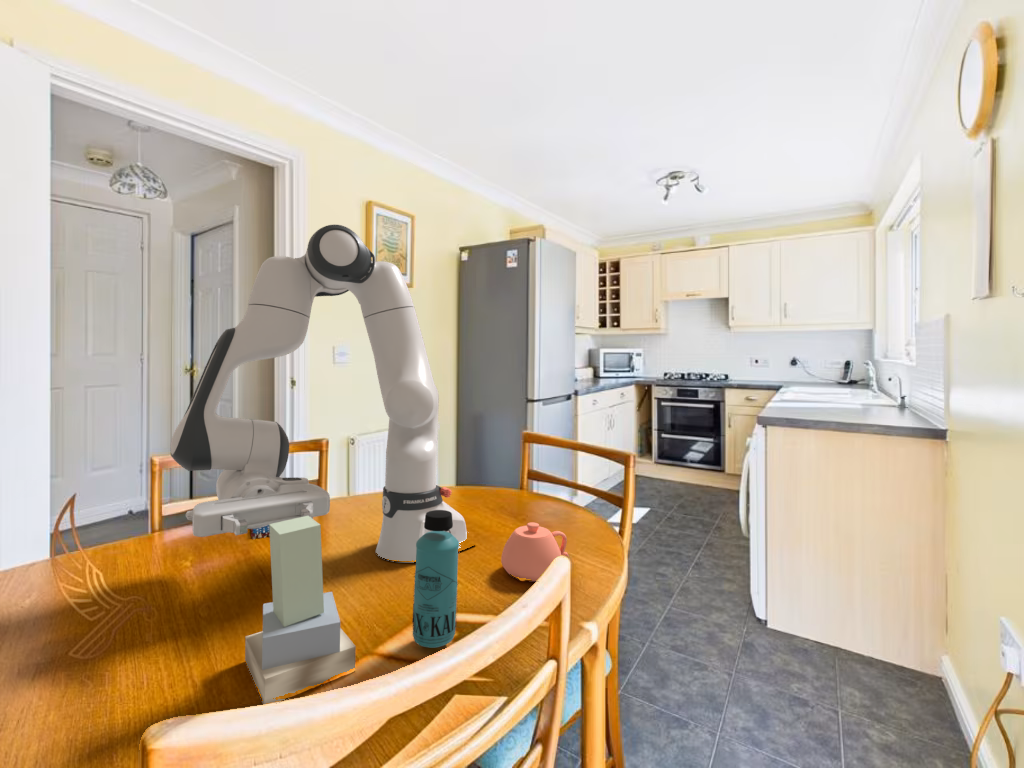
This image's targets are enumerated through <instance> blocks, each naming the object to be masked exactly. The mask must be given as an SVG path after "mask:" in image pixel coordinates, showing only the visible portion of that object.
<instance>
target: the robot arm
mask: <svg viewBox="0 0 1024 768" xmlns="http://www.w3.org/2000/svg"><path fill="white" fill-rule="evenodd" d="M362 240H363V239H361V238H360V236H359V235H358V234H356V232H355V231H354V230H352V229H351V228H349V227H347V226H344V225H341V224H328V225H324V226H322V227H321V228H318V229H317V230H316V231H315V232H314V233H313V234H312V235H311V236H310V239H309V241H308V243H307V247H306V250H305V254H304V255H302V256H301V257H290V256H286V255H285V256H284V255H276V256H270V257H267V259H265V260H264V261H263V262H262V264H261V266H260V267H259V270H258V272H257V275H256V277H255V279H254V282H253V285H252V288H251V292H250V294H249V300H248V303H247V308H246V312H245V314H244V316H243V318H242V319H241V321H240V322H239V323H237V325H236V326H235V327H231V328H227V329H225V331H223V332H222V334H221V335H220V336H219V338H218V339H217V342H216V343H215V345H214V346H213V349H212V352H211V353H210V355H209V358H208V360H207V363H206V365H205V367H204V370H203V371H202V373H201V376H200V378H199V380H198V382H197V383H198V384H197V385H196V388H195V390H194V393H193V395H192V397H191V400H190V402H189V405H188V407H187V409H186V410H185V412H184V415H183V417H182V419H181V421H179V424H178V425H177V426H176V428H175V430H174V432H173V434H172V437H171V443H170V457H172V459H173V460H174V461H175V462H176V464H178V465H180V467H182V468H183V469H185V470H186V471H188V472H191V471H211V470H220V471H221V470H222V472H220V474H219V475H218V478H217V480H216V484H215V485H216V487H215V491H216V495H217V499H216V500H210V501H204V502H199V503H197V504H195V505H194V507H193V509H192V510H187V511H186V513H185V518H186V519H187V520H188V521H191V522H192V535H193V536H194V537H198V538H199V537H200V538H206V537H210V536H215V535H220V534H226V533H227V534H228V533H232V534H234V535H235V536H240V535H244V534H245V535H246V534H248V530H249V529H250V530H251V529H256V528H261V527H264V526H266V525H269V524H272V523H277V522H281V521H286V520H290V519H295V518H299V517H304V516H309V517H311V518H312V519H313V520H314V518H316V517H321V516H326V515H328V513H330V508H331V496H330V494H329V492H328V491H327V490H325V489H324V488H323V487H321V486H319V485H317V484H314V483H309V482H310V481H309V479H308V478H306V477H282V474H283V473H284V470H286V467H287V463H288V460H289V454H290V440H289V437H288V435H287V433H286V431H285V430H284V428H283V427H282V425H281V424H279V423H278V421H273V420H272V421H271V420H262V419H253V418H249V419H247V418H239V417H231V416H230V417H229V416H222V415H219V414H217V413H216V411H217V409H218V406H219V404H220V401H221V399H222V397H223V394H224V392H225V389H226V387H227V384H228V381H229V379H230V377H231V375H232V373H234V371H235V370H236V369H237V368H238V367H240V366H242V365H245V364H247V363H251V362H256V361H262V360H269V359H270V360H271V359H275V358H280V357H284V356H287V355H289V354H291V353H293V352H295V351H296V350H297V349H299V348H300V347H301V346H302V344H303V343H304V341H305V338H306V336H307V332H308V328H309V323H310V317H311V311H312V307H313V302H314V299H315V297H334V296H335V297H336V296H340V295H343V294H346V293H347V292H350V293H352V294H353V295H354V297H355V298H356V300H357V301H358V304H359V305H360V310H361V314H362V318H363V322H364V326H365V328H366V329H365V330H366V332H367V336H368V339H369V343H370V345H371V350H372V354H373V358H374V363H375V370H376V375H377V379H378V380H377V381H378V385H379V388H380V389H379V390H380V393H381V397H382V402H383V406H384V409H385V413H386V415H387V416H388V420H389V421H388V430H387V439H386V440H387V441H386V449H385V473H384V474H385V479H384V480H385V481H384V486H383V487H382V500H381V503H382V504H381V505H382V523H381V530H380V534H379V538H378V543H377V545H376V547H375V548H376V549H375V554H376V553H377V554H378V555H377V554H376V555H377V556H378V557H379V556H380V557H379V558H381V557H382V558H381V559H383V558H385V559H389V560H397V561H398V560H399V561H412V560H413V561H415V560H416V542H417V541H418V539H419V538H420V537H422V536H423V535H424V534H425V533H427V532H431V531H430V530H427V529H425V528H424V523H425V515H426V513H427V512H429V511H433V510H446V511H449V512H451V513H452V522H453V527H452V528H451V529H449V530H446V532H449V533H451V534H452V535H453V536H454V537H455V538H456V539H457V540H458V542H459V543H461V542H463V541H465V540H466V539H467V532H468V531H467V525H466V521H465V518H464V516H463V515H462V514H461V513H460V512H458V511H457V510H455V509H454V508H453V507H451V505H449V504H448V503H446V502H445V501H444V500H443V497H444V498H446V499H447V498H451V495H452V493H453V492H452V490H451V489H450V488H448V487H446V486H443V487H441V486H439V485H437V469H438V468H437V466H438V464H437V463H438V439H439V438H438V436H439V435H438V433H439V406H440V405H439V403H440V395H439V390H438V388H437V385H436V384H435V380H434V378H433V373H432V369H431V365H430V361H429V358H428V353H427V350H426V349H427V348H426V346H425V340H424V337H423V333H422V330H421V326H420V323H419V320H418V315H417V312H416V309H415V304H414V300H413V298H412V295H411V293H410V290H409V287H408V285H407V283H406V280H405V278H404V275H403V274H402V272H401V269H400V268H399V267H398V266H397V265H396V264H394V263H392V262H388V261H383V260H381V261H379V260H378V261H376V256H375V254H374V253H373V252H372V251H371V250H370V249H369V248H368V247H367V245H366V244H365V242H363V241H362ZM459 545H460V544H459ZM460 546H461V545H460ZM460 546H459V547H458V549H459V548H461V547H460ZM385 559H384V560H385ZM389 560H388V561H389Z"/></svg>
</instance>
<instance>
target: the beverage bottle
mask: <svg viewBox="0 0 1024 768" xmlns="http://www.w3.org/2000/svg"><path fill="white" fill-rule="evenodd" d="M452 527H453V522H452V513H451V512H449V511H446V510H433V511H429V512H427V513H426V515H425V523H424V528H425V529H427V530H430V531H431V532H427V533H425V534H424V535H423V536H422V537H420V538H419V539H418V541H417V542H416V563H415V570H414V571H415V572H414V573H413V575H414V585H413V595H412V596H413V598H412V599H413V600H412V602H413V604H412V620H411V621H412V625H411V627H412V631H411V633H412V637H413V641H414V642H415V643H416V644H417V645H419V646H421V647H424V648H433V649H434V648H440V647H444V646H446V645H448V644H450V643H451V642H452V640H454V637H455V634H456V631H457V623H458V622H457V620H458V616H457V603H458V594H459V592H458V585H459V583H458V570H459V569H458V566H459V553H458V547H459V542H458V540H457V539H456V538H455V537H454V536H453V535H452V534H451V533H449V532H446V530H449V529H451V528H452Z"/></svg>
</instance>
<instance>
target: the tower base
mask: <svg viewBox="0 0 1024 768" xmlns="http://www.w3.org/2000/svg"><path fill="white" fill-rule="evenodd" d="M244 638H245V643H244V644H245V645H244V647H245V649H244V652H245V653H244V655H245V657H244V662H245V661H246V663H247V665H246V667H247V666H248V667H247V669H248V668H249V670H248V672H249V671H250V672H249V674H250V673H251V674H250V676H251V675H252V677H253V679H252V681H253V680H254V682H255V684H256V686H257V687H258V689H259V692H260V694H261V697H262V700H263V701H261V703H262V705H263V704H266V703H270V702H275V701H281V700H284V701H286V700H285V699H278V700H276V699H275V698H276V697H279V696H284V695H285V694H288V693H295V692H296V691H298V690H302V689H304V688H306V687H308V686H314V685H317V684H320V683H323V682H324V681H326V680H328V679H330V678H331V677H333V676H335V675H338V674H340V673H343V672H347V671H349V670H350V669H353V668H355V669H356V648H357V647H356V645H355V644H354V643H353V641H352V640H351V639H350V637H349V636H348V635H347V634H346V633H345V632H344V630H343V629H342V628H341V627H340V652H337V653H333V654H328V655H324V656H320V657H316V658H312V659H307V660H303V661H299V662H295V663H290V664H286V665H282V666H278V667H273V668H269V669H265V670H262V641H263V630H262V631H259V632H256V633H253V634H250V635H245V637H244ZM246 663H245V664H246ZM252 677H251V678H252ZM254 682H253V683H254ZM255 684H254V685H255ZM256 686H255V687H256ZM273 698H274V699H273ZM289 699H290V698H288V699H287V700H289ZM281 702H282V701H281Z"/></svg>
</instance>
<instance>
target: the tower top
mask: <svg viewBox="0 0 1024 768" xmlns="http://www.w3.org/2000/svg"><path fill="white" fill-rule="evenodd" d="M323 600H324V613H322V614H319V615H316V616H313V617H311V618H308V619H305V620H302V621H299V622H297V623H294V624H291V625H288V626H286V627H284V626H283V625H282V623H281V622H280V620H279V619H278V617H277V616H276V615H275V613H274V612H273V601H272V602H266V603H263V605H262V631H263V641H262V670H265V669H269V668H273V667H278V666H282V665H286V664H290V663H295V662H299V661H303V660H307V659H312V658H316V657H320V656H324V655H328V654H333V653H337V652H340V628H341V619H340V615H339V612H338V608H337V605H336V602H335V598H334V594H333V591H328V592H323Z"/></svg>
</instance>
